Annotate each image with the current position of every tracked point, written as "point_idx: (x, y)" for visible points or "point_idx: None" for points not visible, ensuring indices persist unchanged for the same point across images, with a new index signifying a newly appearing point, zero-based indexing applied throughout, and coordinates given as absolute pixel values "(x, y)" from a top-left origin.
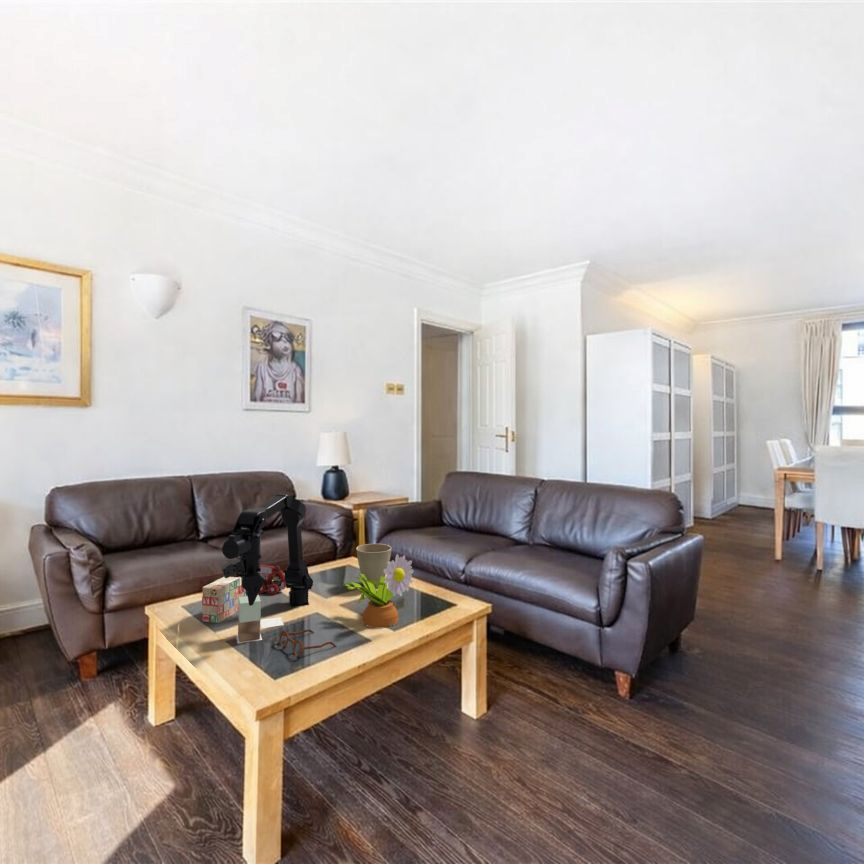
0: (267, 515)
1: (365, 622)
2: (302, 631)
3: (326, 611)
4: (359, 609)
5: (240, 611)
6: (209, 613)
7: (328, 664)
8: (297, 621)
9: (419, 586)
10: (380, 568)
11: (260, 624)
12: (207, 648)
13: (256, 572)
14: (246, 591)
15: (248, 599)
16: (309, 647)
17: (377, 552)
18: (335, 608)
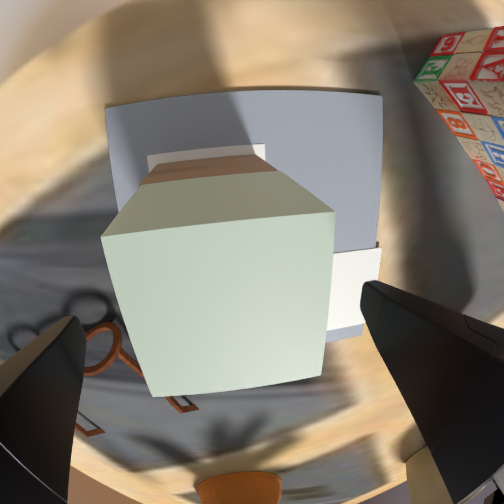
0: None
1: (222, 479)
2: (166, 398)
3: (346, 420)
4: (317, 464)
5: (122, 211)
6: (457, 52)
7: None
8: None
9: (365, 497)
10: (411, 498)
11: (335, 254)
12: (151, 27)
13: (477, 490)
14: (386, 303)
15: (22, 351)
16: None
17: None
18: (353, 432)
